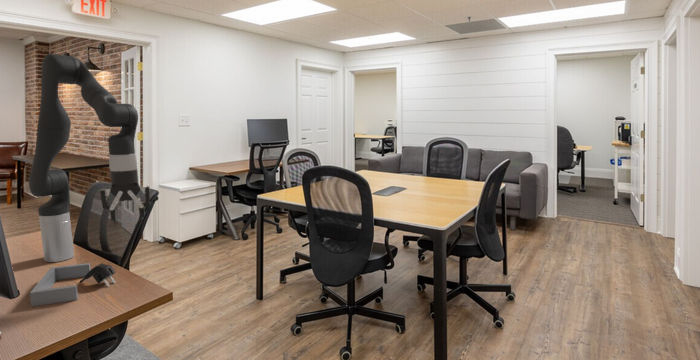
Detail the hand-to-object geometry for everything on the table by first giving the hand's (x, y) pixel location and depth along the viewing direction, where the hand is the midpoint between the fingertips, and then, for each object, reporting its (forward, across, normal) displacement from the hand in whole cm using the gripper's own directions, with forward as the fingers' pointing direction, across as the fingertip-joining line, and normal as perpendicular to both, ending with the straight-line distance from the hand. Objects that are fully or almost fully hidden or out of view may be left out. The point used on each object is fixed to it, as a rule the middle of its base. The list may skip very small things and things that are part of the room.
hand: (128, 220), depth 134 cm
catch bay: (+20, +19, 0) cm, 27 cm away
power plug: (+20, +11, -2) cm, 23 cm away
